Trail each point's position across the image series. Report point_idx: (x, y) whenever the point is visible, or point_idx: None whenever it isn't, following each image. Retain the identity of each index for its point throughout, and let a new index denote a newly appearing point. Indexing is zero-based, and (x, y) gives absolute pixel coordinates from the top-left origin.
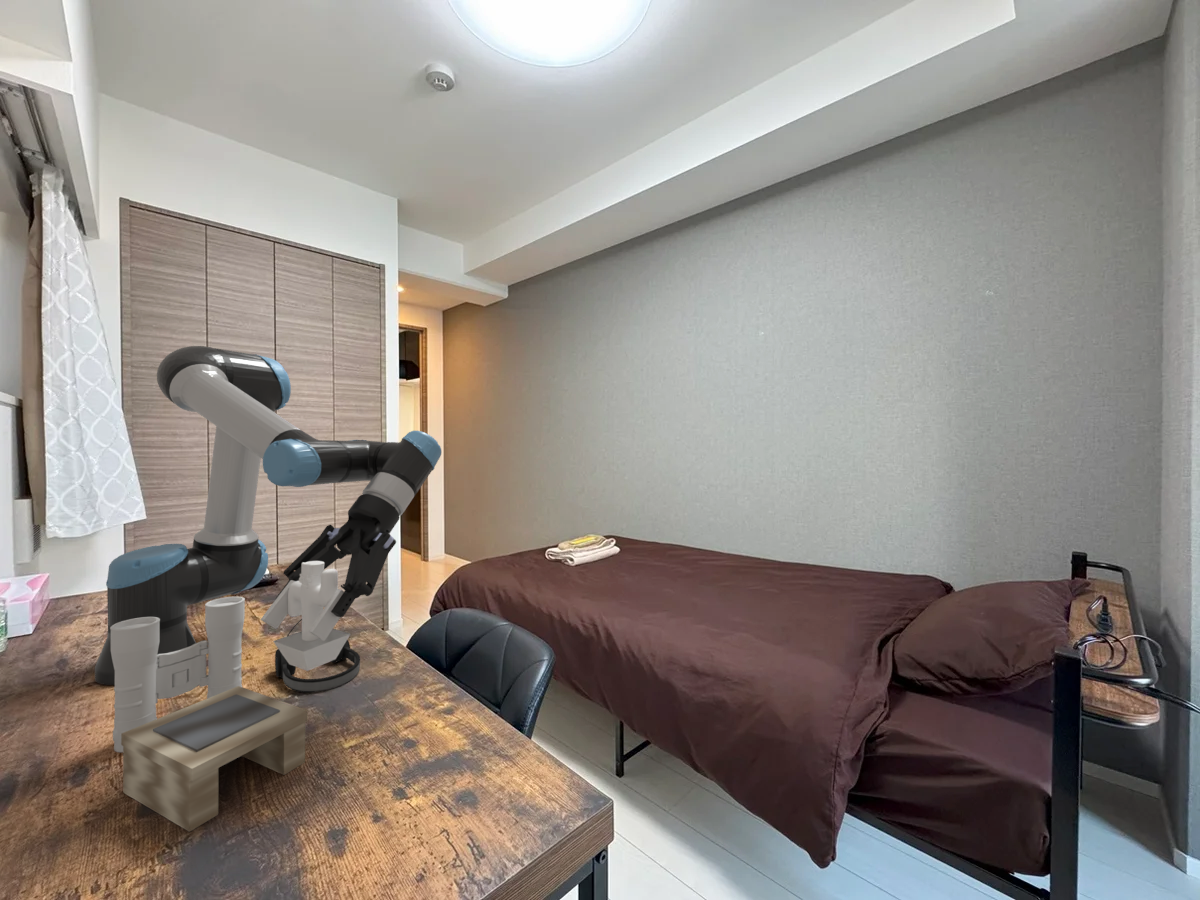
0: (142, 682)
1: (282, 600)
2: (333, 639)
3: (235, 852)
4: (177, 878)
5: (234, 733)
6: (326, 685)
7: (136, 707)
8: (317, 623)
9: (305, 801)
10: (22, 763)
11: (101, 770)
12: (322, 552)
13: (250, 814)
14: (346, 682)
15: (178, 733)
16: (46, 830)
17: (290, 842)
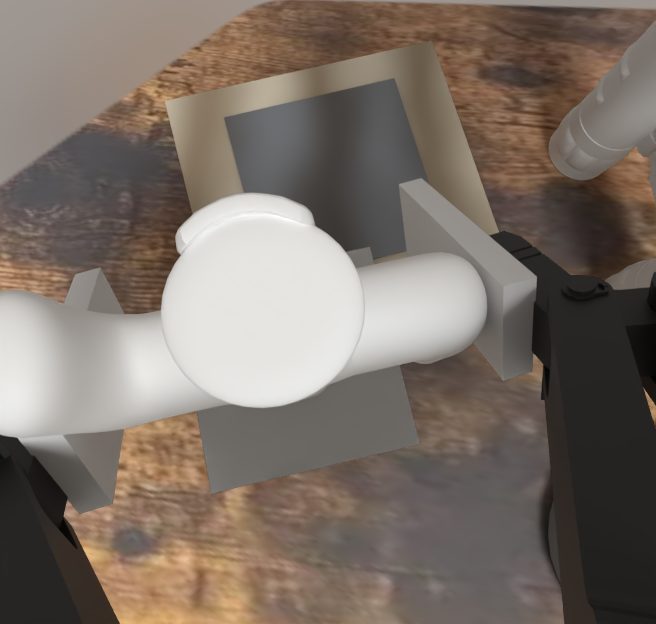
0: (631, 73)
1: (443, 244)
2: (204, 414)
3: (93, 194)
4: (106, 131)
5: (241, 186)
6: (554, 514)
7: (594, 98)
8: (71, 294)
9: (125, 307)
10: (633, 21)
11: (509, 100)
12: (629, 536)
13: (168, 234)
14: (555, 571)
15: (329, 107)
16: (375, 33)
17: (43, 255)
